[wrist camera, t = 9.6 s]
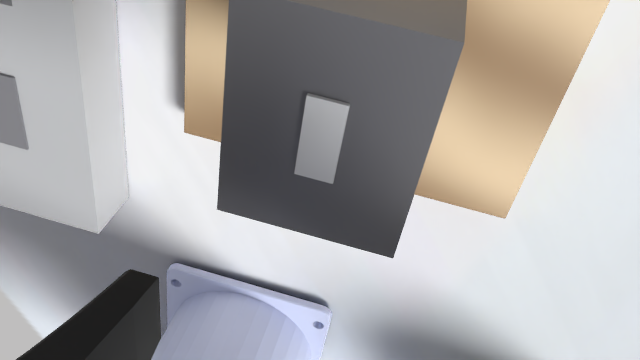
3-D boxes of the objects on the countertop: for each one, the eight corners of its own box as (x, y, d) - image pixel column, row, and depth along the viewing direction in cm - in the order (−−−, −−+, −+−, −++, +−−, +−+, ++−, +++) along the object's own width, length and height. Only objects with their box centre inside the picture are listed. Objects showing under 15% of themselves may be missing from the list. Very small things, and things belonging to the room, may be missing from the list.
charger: (422, 100, 18) (392, 261, 12) (301, 70, 18) (215, 212, 12) (471, -63, 15) (464, 44, 9) (325, -96, 15) (227, -12, 9)
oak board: (504, 201, 21) (505, 218, 20) (195, 119, 22) (184, 132, 21) (683, -182, 13) (696, -180, 13) (205, -278, 14) (189, -281, 14)
